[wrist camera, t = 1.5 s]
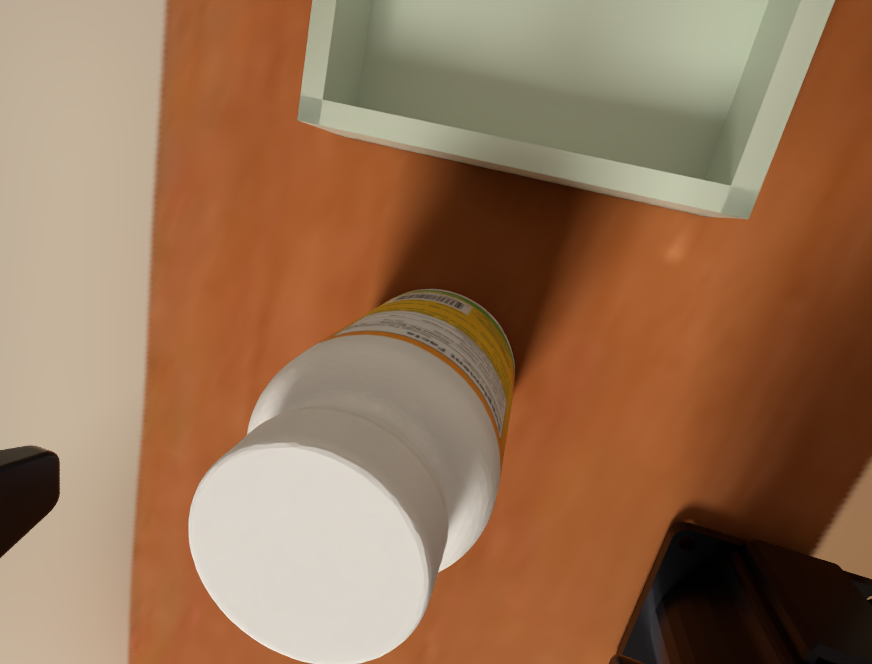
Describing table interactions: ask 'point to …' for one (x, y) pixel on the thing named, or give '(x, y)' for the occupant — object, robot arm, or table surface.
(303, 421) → the supplement bottle
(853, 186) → the table surface
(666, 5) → the tray
